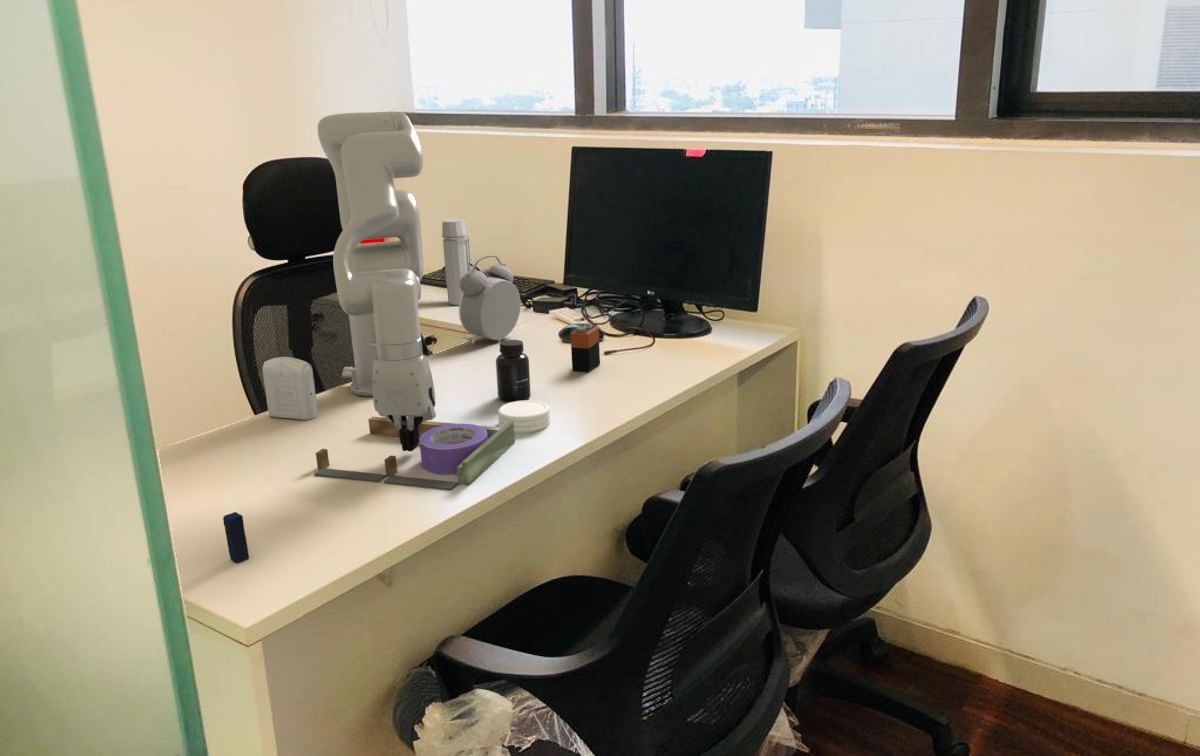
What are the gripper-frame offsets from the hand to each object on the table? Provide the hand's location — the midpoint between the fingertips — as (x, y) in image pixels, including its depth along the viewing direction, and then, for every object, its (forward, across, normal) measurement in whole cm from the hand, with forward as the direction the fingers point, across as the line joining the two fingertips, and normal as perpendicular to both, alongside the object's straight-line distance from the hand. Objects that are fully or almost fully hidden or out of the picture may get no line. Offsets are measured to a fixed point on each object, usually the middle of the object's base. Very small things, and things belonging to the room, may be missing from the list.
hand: (410, 448), depth 164 cm
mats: (+1, +1, -11) cm, 11 cm away
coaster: (+2, +14, +19) cm, 24 cm away
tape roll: (+2, +9, -1) cm, 9 cm away
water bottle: (+1, -43, +111) cm, 119 cm away
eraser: (+2, -5, -40) cm, 40 cm away
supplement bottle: (+2, +6, +33) cm, 34 cm away
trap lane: (+1, +1, 0) cm, 2 cm away
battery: (+2, +14, +56) cm, 58 cm away
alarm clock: (+1, -17, +74) cm, 76 cm away
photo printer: (+2, -34, +13) cm, 36 cm away
